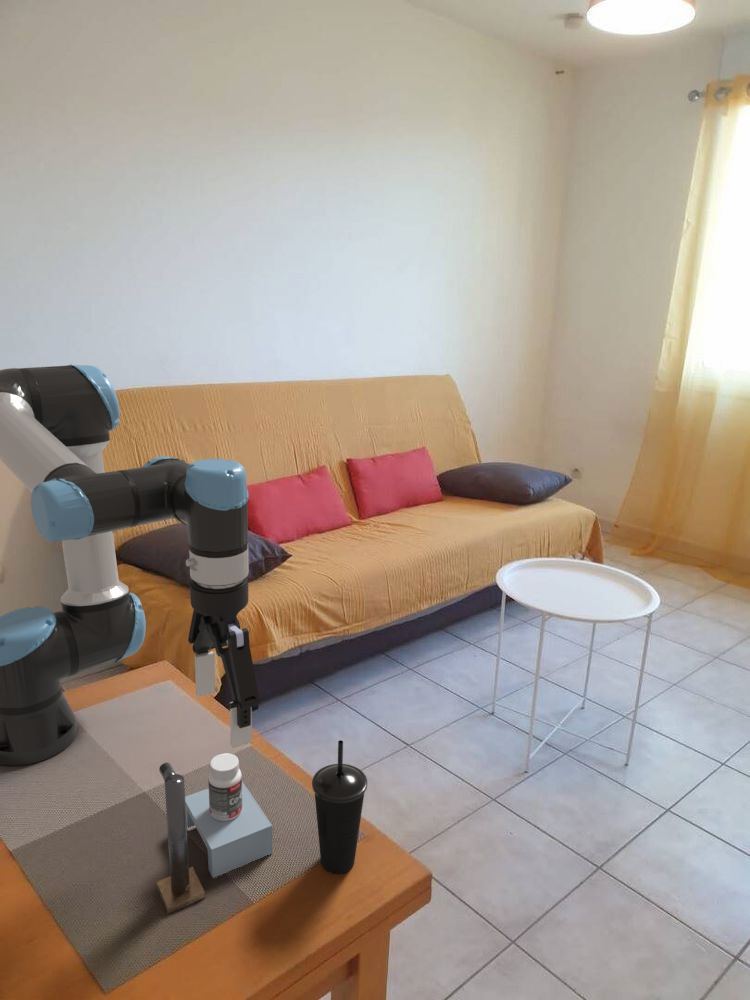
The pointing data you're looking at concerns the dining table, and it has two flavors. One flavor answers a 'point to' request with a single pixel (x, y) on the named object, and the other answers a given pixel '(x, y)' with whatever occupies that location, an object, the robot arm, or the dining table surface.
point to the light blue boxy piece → (230, 832)
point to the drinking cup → (338, 812)
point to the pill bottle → (225, 787)
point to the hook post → (177, 847)
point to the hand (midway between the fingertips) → (222, 717)
